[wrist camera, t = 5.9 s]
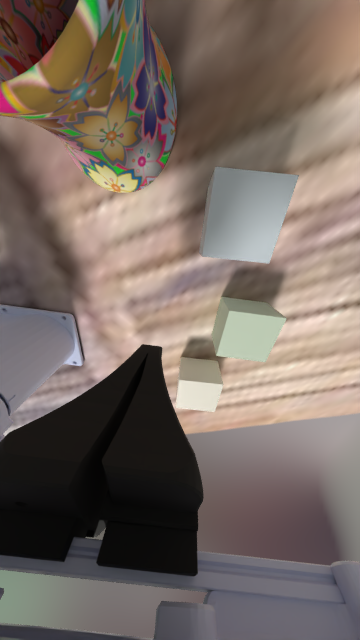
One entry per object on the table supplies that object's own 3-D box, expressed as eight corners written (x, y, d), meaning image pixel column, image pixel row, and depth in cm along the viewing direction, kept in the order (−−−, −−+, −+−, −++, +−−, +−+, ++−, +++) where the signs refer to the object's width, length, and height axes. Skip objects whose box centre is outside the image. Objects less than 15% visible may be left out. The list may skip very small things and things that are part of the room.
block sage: (211, 334, 19) (216, 355, 16) (221, 296, 17) (229, 310, 13) (251, 339, 19) (265, 362, 16) (266, 302, 17) (286, 318, 13)
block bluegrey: (198, 252, 15) (202, 256, 12) (208, 187, 13) (215, 166, 9) (250, 258, 15) (269, 263, 12) (268, 193, 13) (298, 175, 9)
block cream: (177, 382, 23) (175, 407, 20) (180, 356, 21) (179, 379, 17) (210, 385, 23) (214, 411, 20) (217, 360, 21) (223, 384, 17)
